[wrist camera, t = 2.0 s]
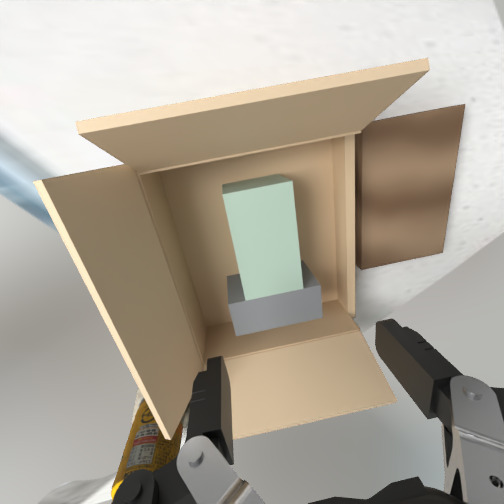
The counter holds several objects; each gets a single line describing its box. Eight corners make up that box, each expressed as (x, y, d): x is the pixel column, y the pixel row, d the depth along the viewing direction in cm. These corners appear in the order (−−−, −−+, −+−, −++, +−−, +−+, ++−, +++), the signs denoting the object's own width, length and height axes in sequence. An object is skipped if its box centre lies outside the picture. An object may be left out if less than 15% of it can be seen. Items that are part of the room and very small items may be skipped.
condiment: (131, 421, 34) (88, 554, 23) (140, 376, 31) (95, 503, 20) (186, 426, 35) (170, 552, 24) (199, 383, 32) (187, 504, 21)
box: (205, 187, 22) (201, 198, 17) (294, 170, 22) (313, 176, 18) (233, 304, 27) (236, 336, 22) (305, 288, 27) (322, 317, 23)
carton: (117, 139, 21) (5, 133, 10) (334, 99, 21) (449, 53, 11) (190, 344, 30) (172, 456, 19) (341, 311, 30) (406, 402, 20)
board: (353, 124, 22) (362, 123, 21) (450, 106, 23) (465, 103, 21) (354, 263, 28) (361, 269, 26) (431, 247, 28) (442, 252, 27)
